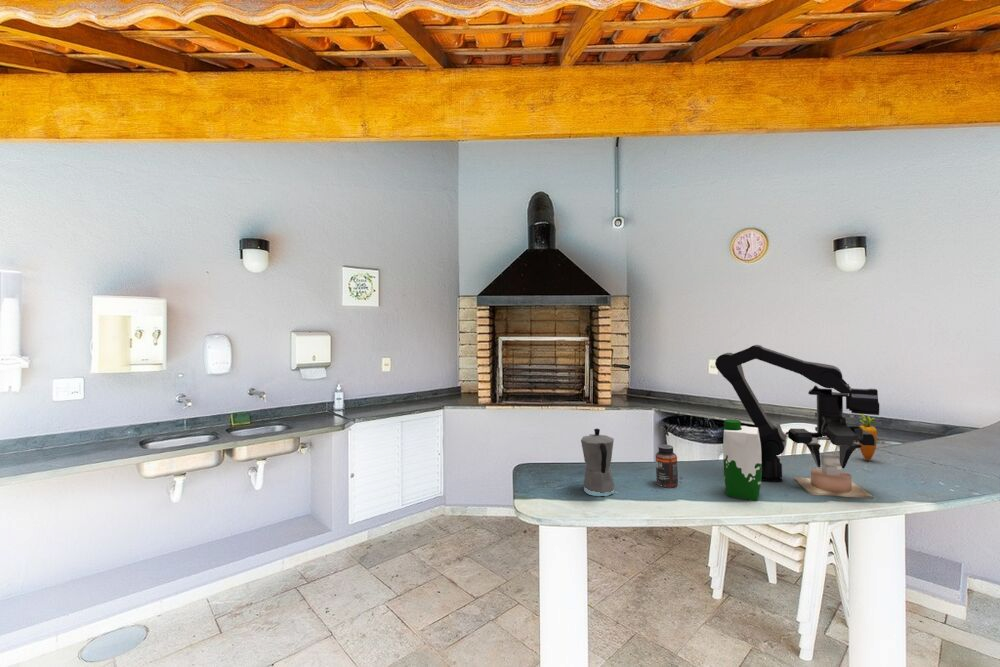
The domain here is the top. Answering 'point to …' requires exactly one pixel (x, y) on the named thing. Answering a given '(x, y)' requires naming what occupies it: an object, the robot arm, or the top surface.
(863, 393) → the robot arm
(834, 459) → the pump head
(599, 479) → the coffeepot
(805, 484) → the birch board
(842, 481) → the soap jar
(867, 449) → the carrot
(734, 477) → the milk carton
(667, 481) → the supplement bottle
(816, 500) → the top surface
